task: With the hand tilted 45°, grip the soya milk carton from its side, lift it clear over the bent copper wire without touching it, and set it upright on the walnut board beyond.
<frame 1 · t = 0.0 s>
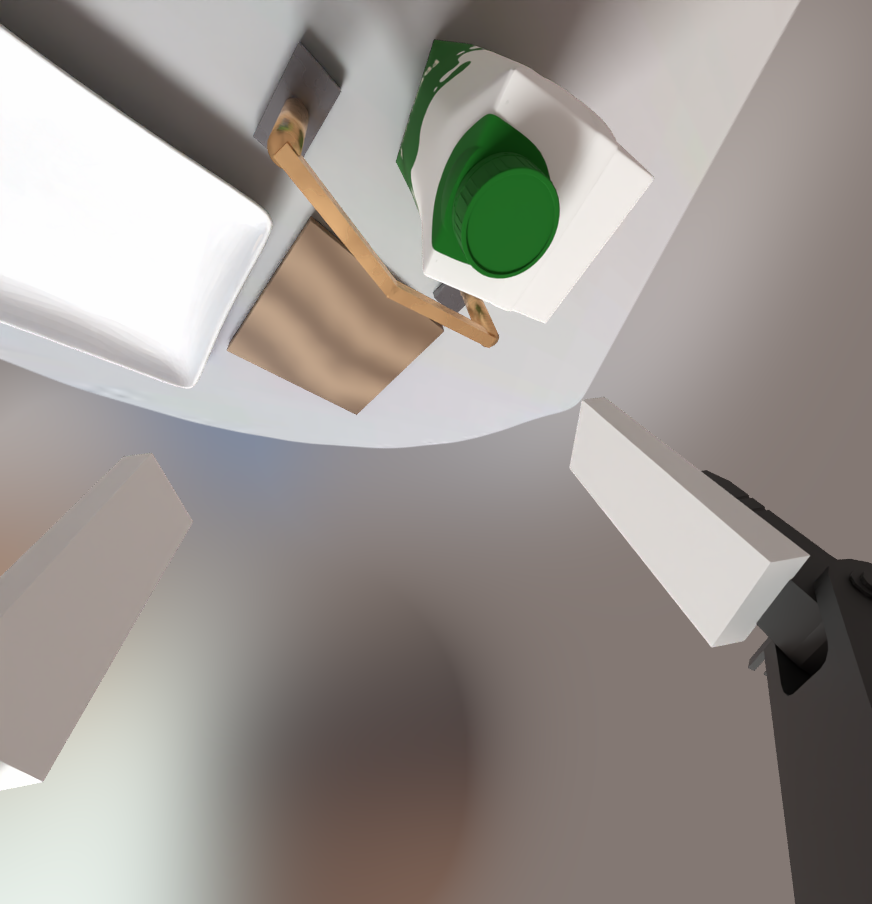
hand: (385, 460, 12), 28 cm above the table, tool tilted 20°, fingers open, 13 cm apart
soya milk: (456, 132, 27), on the table
salad plate: (90, 224, 28), on the table
walnut board: (338, 335, 39), on the table
copper wire: (396, 211, 31), on the table
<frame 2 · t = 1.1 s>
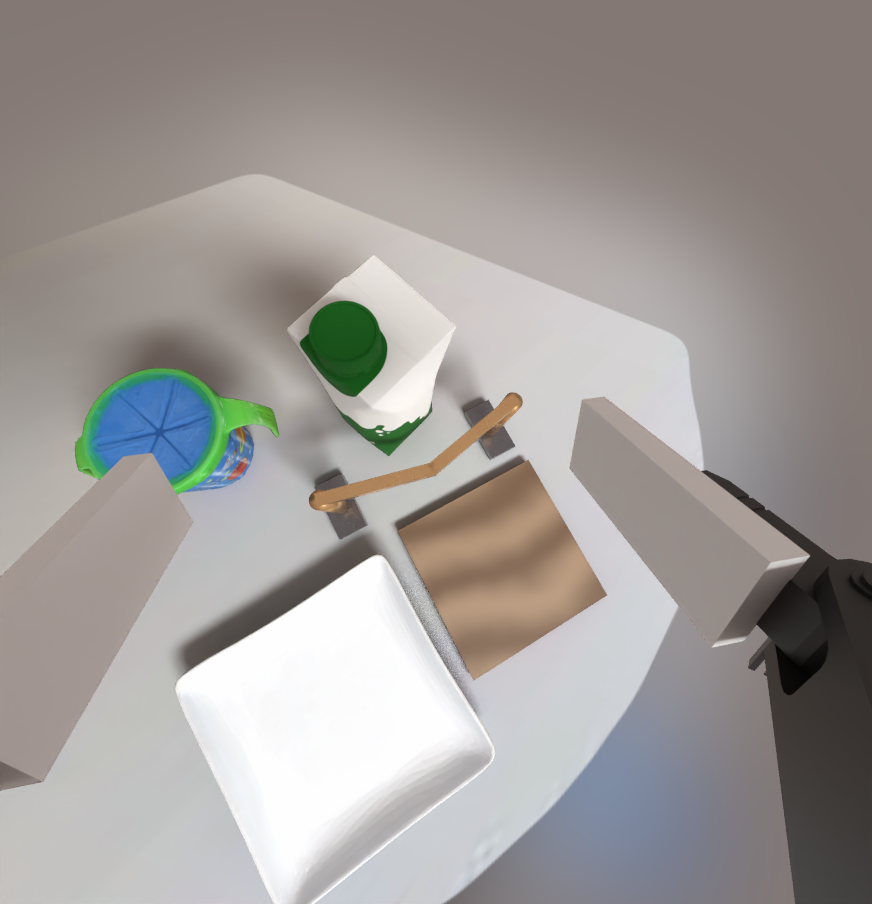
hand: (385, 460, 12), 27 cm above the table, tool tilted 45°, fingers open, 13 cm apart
soya milk: (389, 413, 41), on the table
salad plate: (343, 702, 35), on the table
snack cup: (219, 454, 38), on the table
walnut board: (500, 562, 38), on the table
copper wire: (417, 467, 39), on the table
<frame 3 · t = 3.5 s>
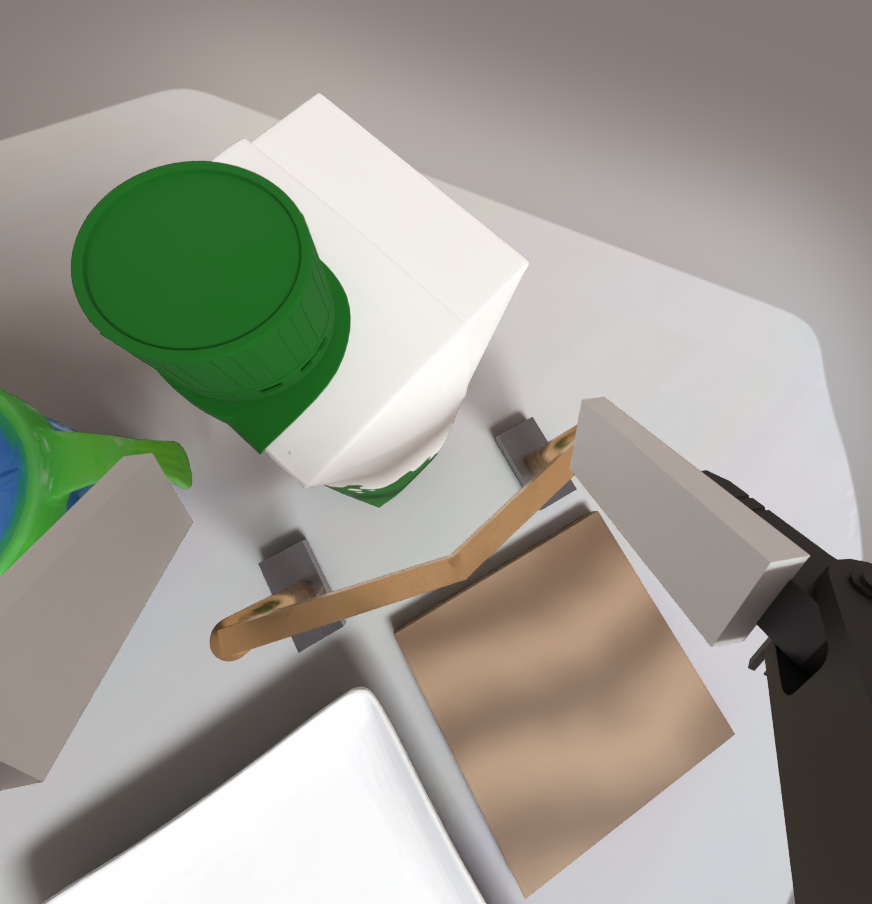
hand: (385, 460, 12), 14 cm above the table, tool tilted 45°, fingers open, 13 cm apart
soya milk: (379, 439, 26), on the table
snack cup: (110, 510, 24), on the table
walnut board: (558, 678, 24), on the table
copper wire: (424, 524, 25), on the table
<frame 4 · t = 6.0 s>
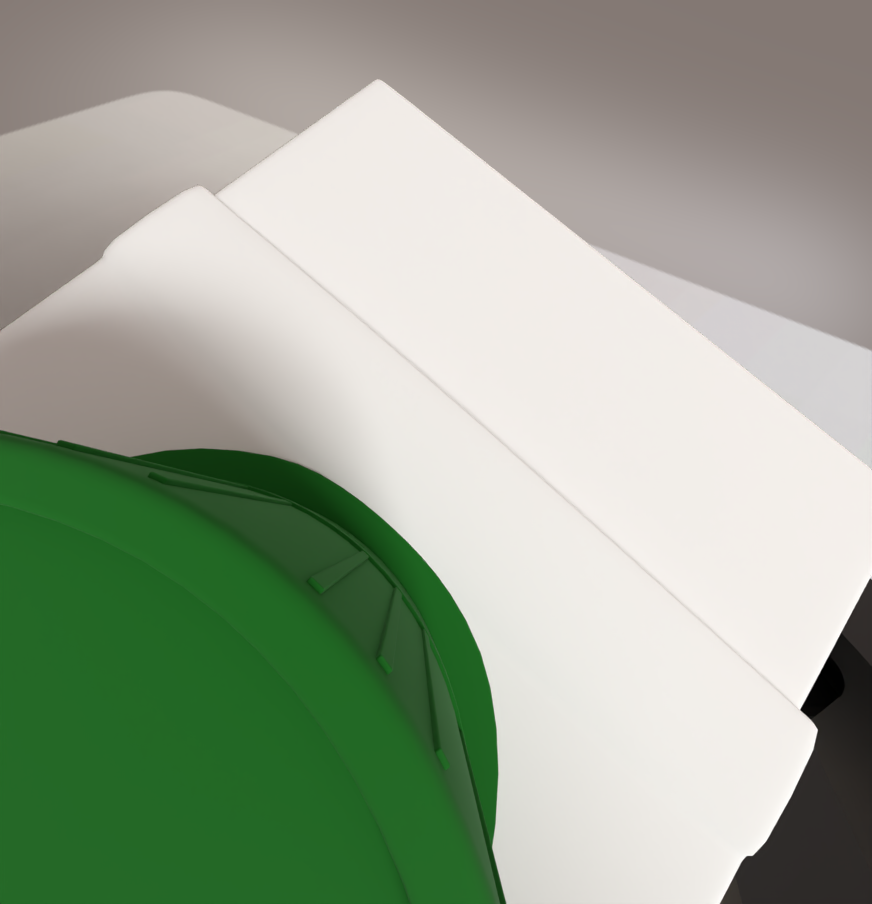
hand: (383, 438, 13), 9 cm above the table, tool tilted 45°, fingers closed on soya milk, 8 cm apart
soya milk: (403, 530, 21), on the table, touching gripper
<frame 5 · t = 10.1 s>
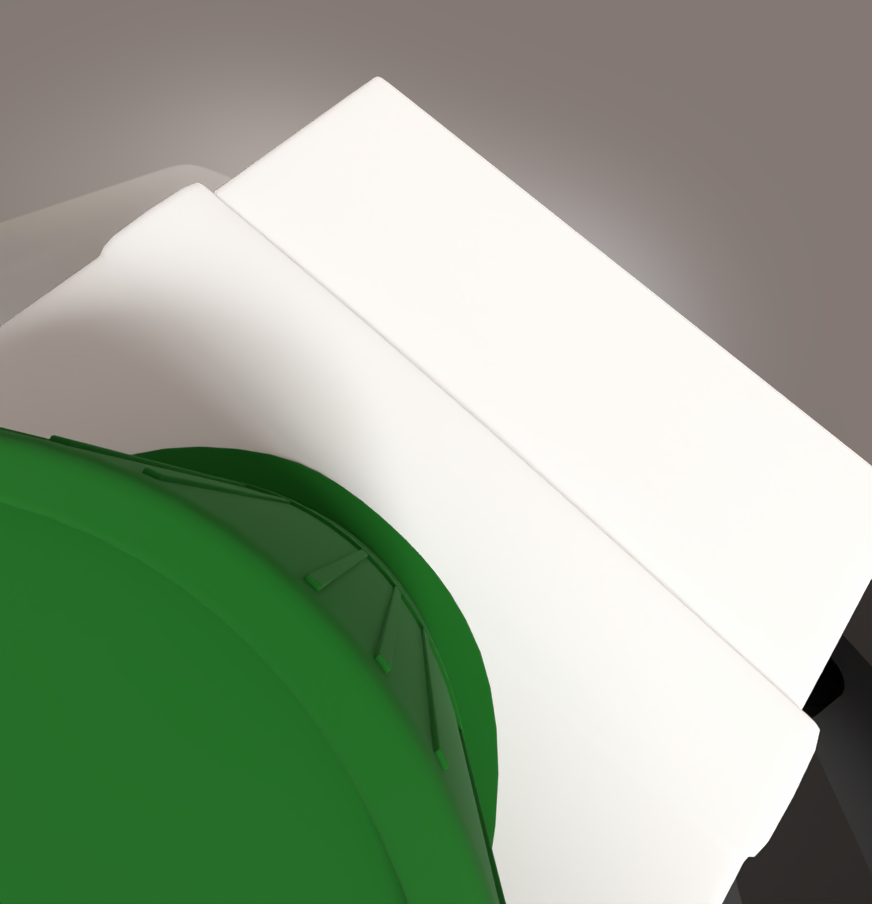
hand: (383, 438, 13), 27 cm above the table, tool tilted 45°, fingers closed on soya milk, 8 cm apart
soya milk: (403, 530, 21), point 19 cm above the table, touching gripper
when the fingers open (11 cm above the table, at t = 14.2 s): soya milk drops 1 cm, resting on walnut board.
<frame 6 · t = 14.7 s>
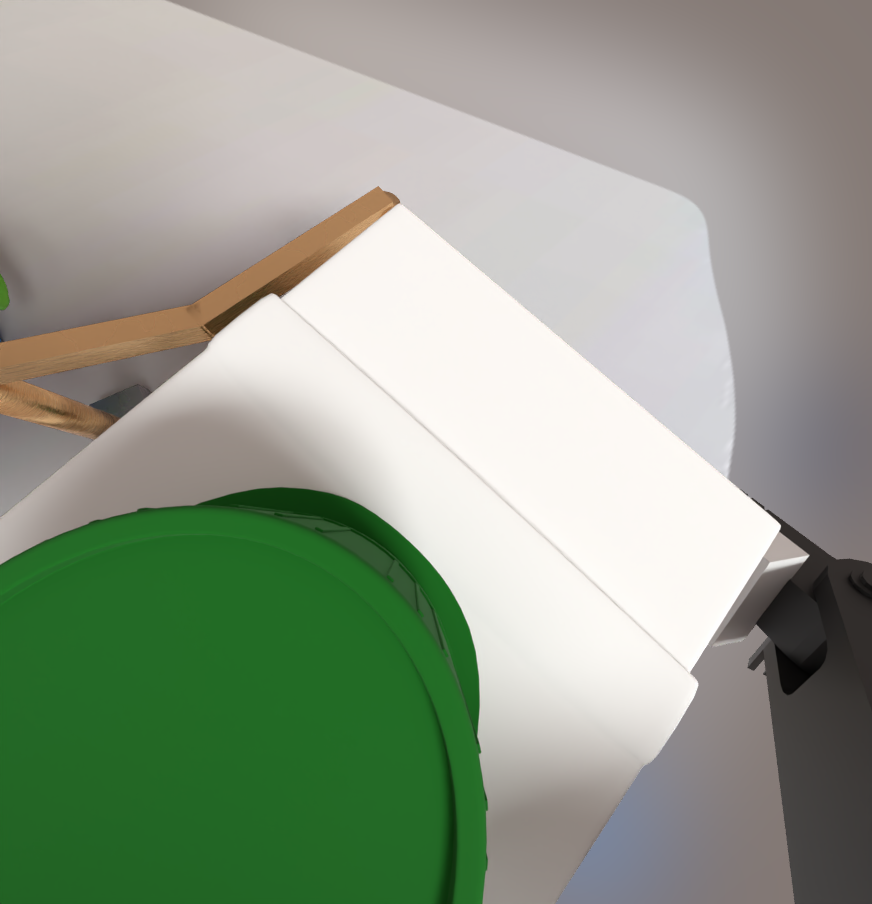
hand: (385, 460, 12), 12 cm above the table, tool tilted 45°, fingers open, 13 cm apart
soya milk: (406, 534, 22), point 1 cm above the table, touching walnut board
copper wire: (275, 380, 24), on the table
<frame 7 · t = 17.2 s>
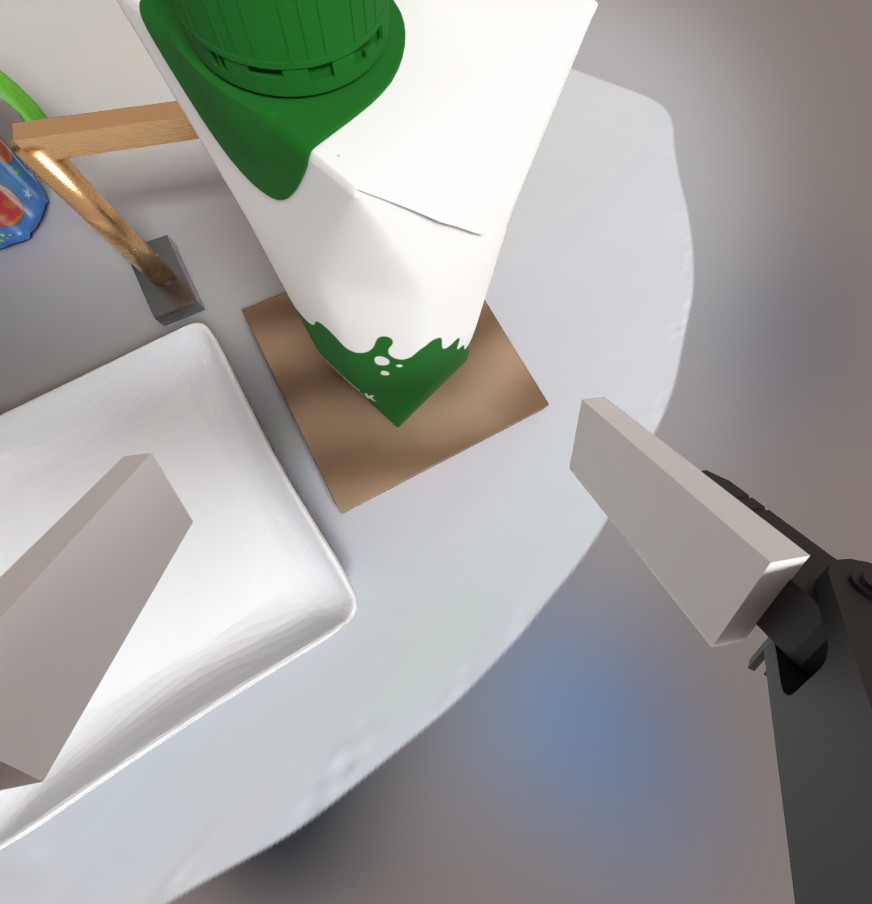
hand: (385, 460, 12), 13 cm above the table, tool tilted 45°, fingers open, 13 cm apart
soya milk: (398, 361, 26), point 1 cm above the table, touching walnut board
salad plate: (148, 547, 23), on the table
snack cup: (1, 216, 27), on the table
walnut board: (396, 363, 26), on the table
copper wire: (285, 240, 28), on the table
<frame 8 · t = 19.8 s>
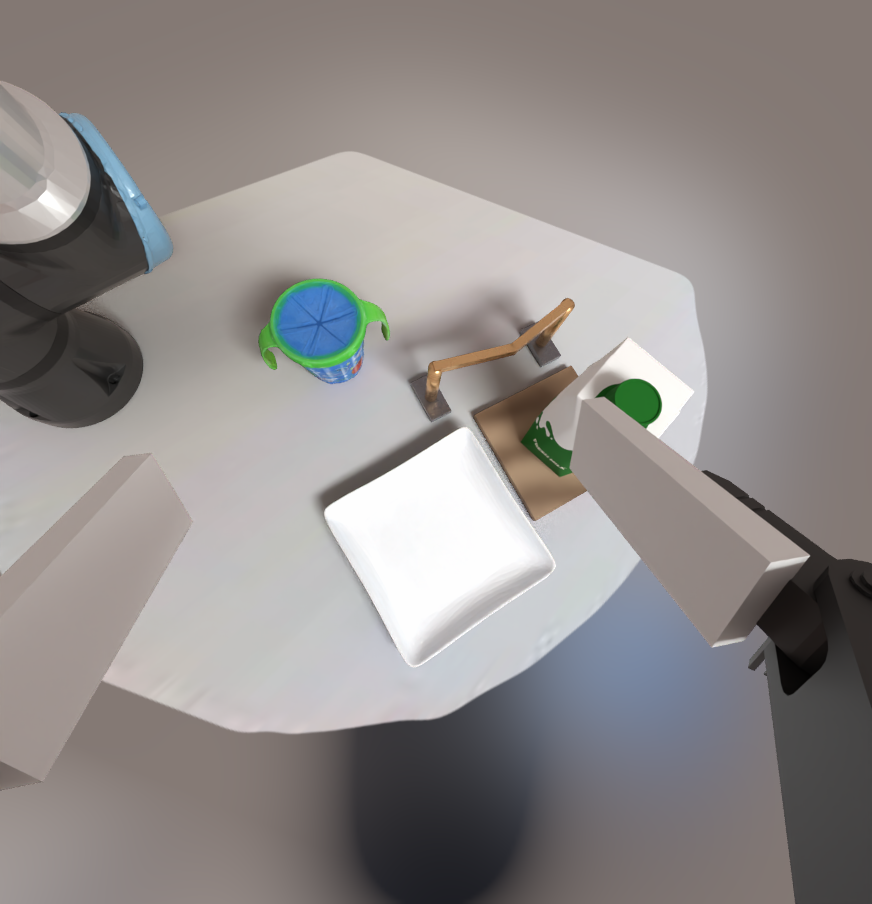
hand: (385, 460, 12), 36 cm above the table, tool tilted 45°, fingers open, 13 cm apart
soya milk: (555, 441, 49), point 1 cm above the table, touching walnut board
salad plate: (438, 538, 47), on the table
snack cup: (336, 360, 50), on the table
walnut board: (551, 440, 50), on the table
copper wire: (486, 371, 51), on the table
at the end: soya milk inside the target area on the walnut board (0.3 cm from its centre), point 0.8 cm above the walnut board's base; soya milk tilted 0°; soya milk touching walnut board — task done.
